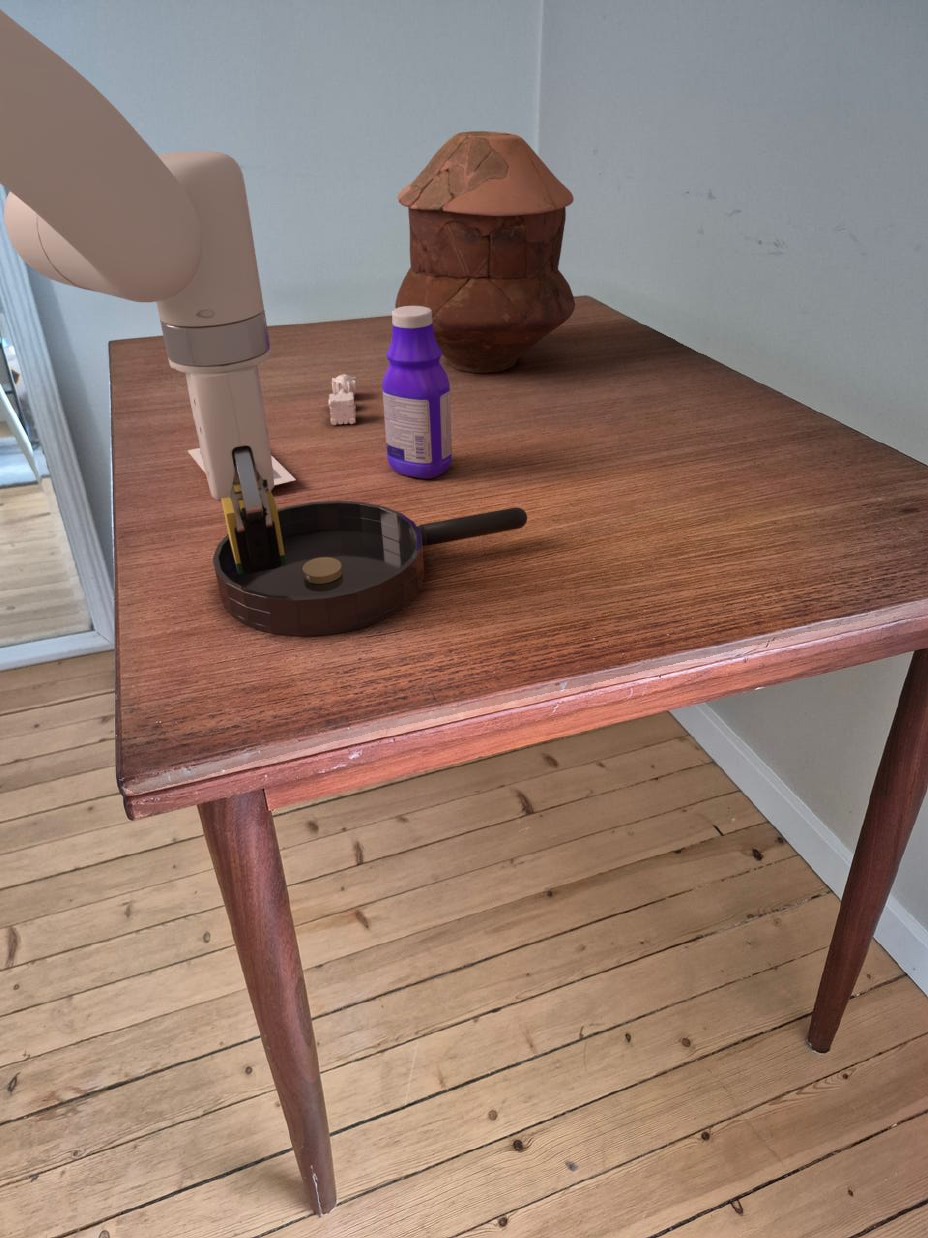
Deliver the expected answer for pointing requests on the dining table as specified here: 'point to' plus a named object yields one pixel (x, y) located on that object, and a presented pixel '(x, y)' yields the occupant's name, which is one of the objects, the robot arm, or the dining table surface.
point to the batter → (322, 570)
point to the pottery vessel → (487, 249)
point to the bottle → (416, 397)
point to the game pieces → (343, 400)
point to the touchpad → (278, 470)
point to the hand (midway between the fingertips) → (256, 550)
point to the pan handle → (472, 526)
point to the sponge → (232, 525)
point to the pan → (364, 594)
